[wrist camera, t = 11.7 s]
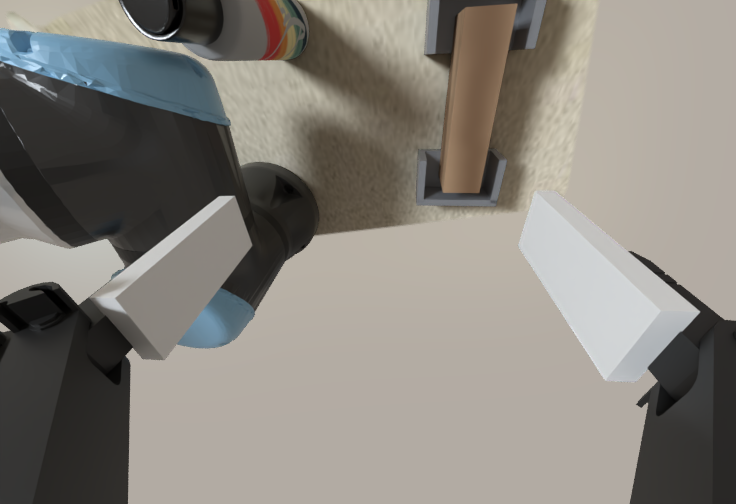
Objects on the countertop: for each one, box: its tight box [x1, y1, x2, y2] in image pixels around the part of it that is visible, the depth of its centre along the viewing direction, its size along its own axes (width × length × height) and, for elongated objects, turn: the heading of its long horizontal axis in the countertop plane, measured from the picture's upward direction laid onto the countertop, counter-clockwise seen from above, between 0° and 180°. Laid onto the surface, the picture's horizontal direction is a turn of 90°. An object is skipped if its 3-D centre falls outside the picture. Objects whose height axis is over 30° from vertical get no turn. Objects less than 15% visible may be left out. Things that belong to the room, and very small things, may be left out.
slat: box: [438, 3, 518, 193], centre depth 29 cm, size 4×16×6 cm, turn 2°
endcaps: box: [416, 0, 547, 206], centre depth 30 cm, size 10×21×5 cm, turn 2°
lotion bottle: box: [119, 0, 309, 61], centre depth 22 cm, size 6×6×20 cm
